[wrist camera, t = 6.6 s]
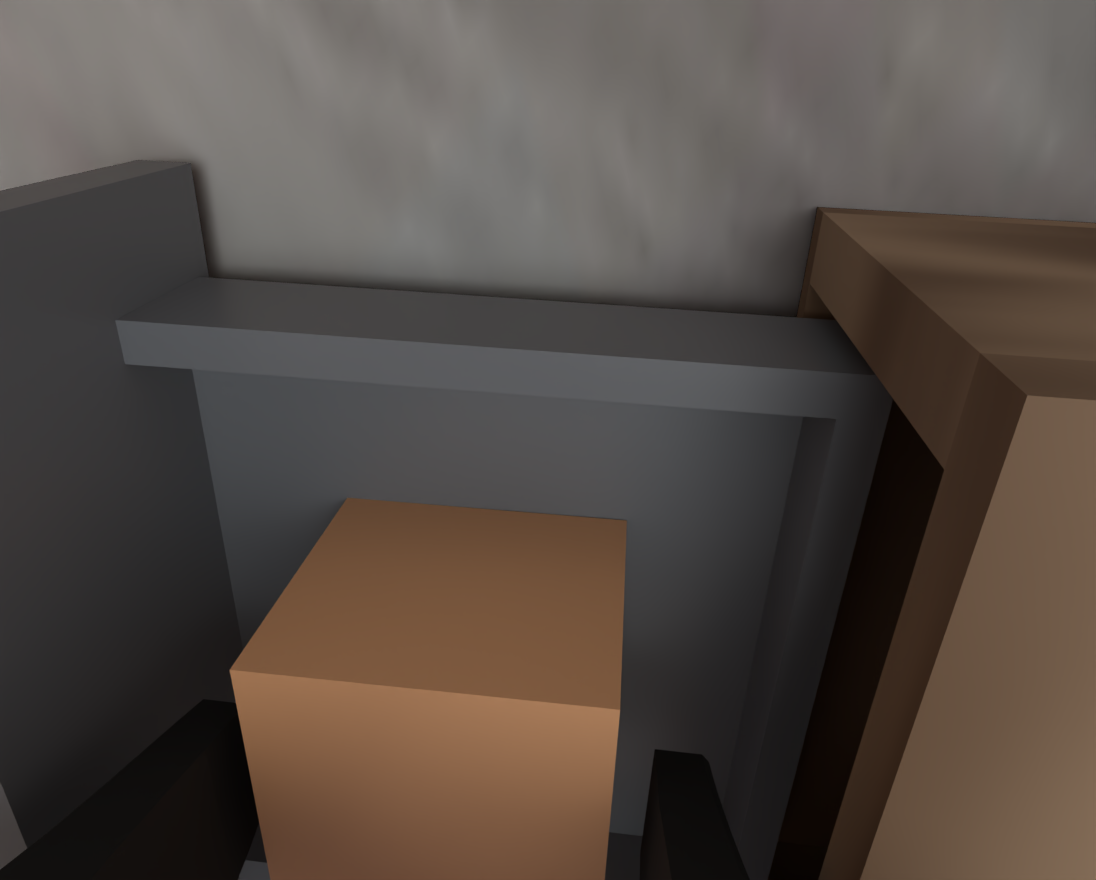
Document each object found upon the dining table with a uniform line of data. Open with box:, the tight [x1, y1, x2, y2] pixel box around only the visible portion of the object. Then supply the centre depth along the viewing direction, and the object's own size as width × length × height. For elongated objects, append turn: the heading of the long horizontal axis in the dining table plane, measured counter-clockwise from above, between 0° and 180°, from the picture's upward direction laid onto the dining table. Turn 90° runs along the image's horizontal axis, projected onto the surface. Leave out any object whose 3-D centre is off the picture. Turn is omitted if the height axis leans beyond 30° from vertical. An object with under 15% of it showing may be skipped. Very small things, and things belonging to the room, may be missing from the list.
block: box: [230, 498, 627, 880], centre depth 12 cm, size 4×4×4 cm
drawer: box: [0, 160, 893, 880], centre depth 12 cm, size 10×14×6 cm
